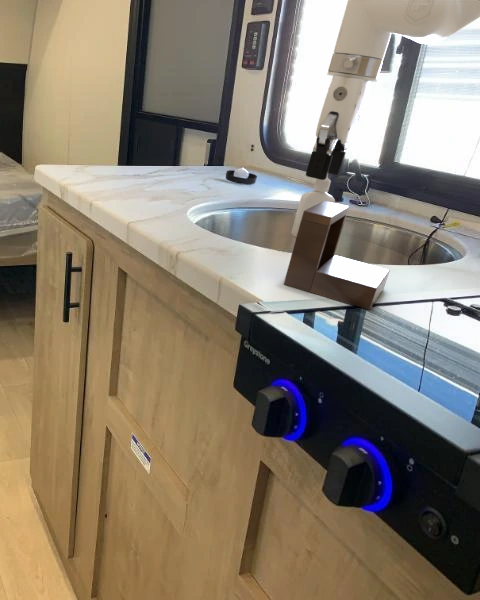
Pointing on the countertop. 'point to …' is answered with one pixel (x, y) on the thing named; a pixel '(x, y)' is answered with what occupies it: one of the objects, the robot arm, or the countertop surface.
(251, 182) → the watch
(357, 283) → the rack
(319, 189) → the eye dropper bottle
